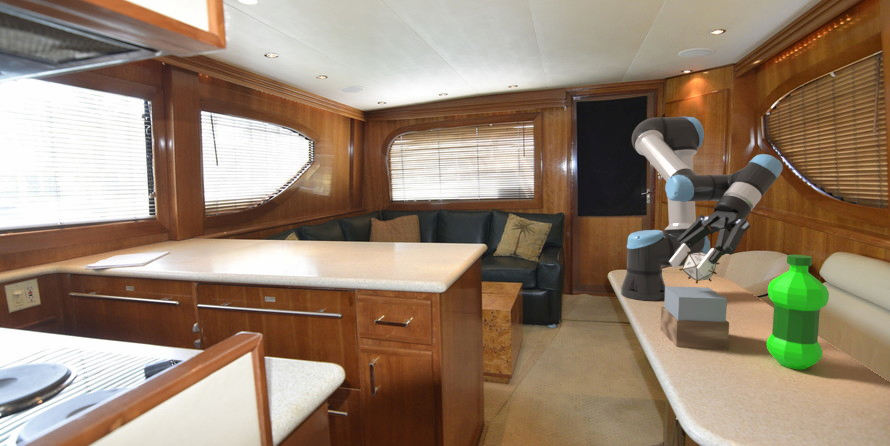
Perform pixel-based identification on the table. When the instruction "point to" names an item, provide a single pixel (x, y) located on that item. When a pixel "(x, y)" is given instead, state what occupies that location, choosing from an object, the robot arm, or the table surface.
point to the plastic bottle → (796, 315)
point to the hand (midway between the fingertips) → (686, 268)
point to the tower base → (694, 332)
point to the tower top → (695, 304)
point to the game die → (693, 262)
